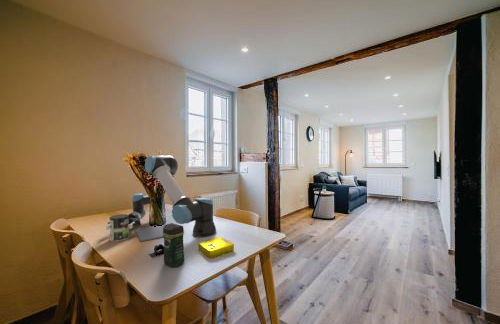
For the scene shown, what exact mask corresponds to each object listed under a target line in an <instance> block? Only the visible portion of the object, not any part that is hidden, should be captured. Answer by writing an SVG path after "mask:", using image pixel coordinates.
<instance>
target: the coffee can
mask: <svg viewBox="0 0 500 324" xmlns="http://www.w3.org/2000/svg"><path fill="white" fill-rule="evenodd" d="M109 222H110V229H109V233H110V234H109V235H110V237H109V238H110V239H109V240H110V242H113V243H114V242H115V243H116V242H123V241H125V240H128V239H129V238H130V229H129V225H130V224H129V214H125V213H124V214H115V215H112V216H110V217H109Z"/></svg>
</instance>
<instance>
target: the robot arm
mask: <svg viewBox="0 0 500 324" xmlns="http://www.w3.org/2000/svg"><path fill="white" fill-rule="evenodd" d="M144 169H145V172H146V173H147V174H152V176H153V177H154V178H155V179H158V180H159V181H160V183H161V185H162V186H163V188H164V191H165V192H166V195H167V196H168V197H169V199H170V201H171V202H172V203H171V204H173V205H172V208H171V214H172V215H171V216H172V219H173V220H174V221H175V222H176V223H177V224H178V225H184V224H189V223H191V222H194V225H193V229H192V235H193V236H195V237H197V238H205V237H209V236H213V235H215V234H217V228H216V225H215V222H214V203H213V202H214V201H213V199H212V198H209V197H195V198H194V201H192V199H191V198H190V197H188V196H186V195H185V194H184V192H183V190H182V188H181V187H180V185H179V184H178V182H177V181H176V179H175V178H174V176H175V175H176V173H177V172H178V169H179V164H178V160H177V159H176V158H175V157H173V156H172V155H166V154H165V155H155V154H153V155H149V156H147V157H146V159H145V163H144ZM158 180H157V181H158ZM148 195H149V194H145V195H144V193H134V194H132V199H131V201H132V212H131V213H129V214H128V215H129V230H131V229H132V228H134V227H136V226H140V225H141V220H142V219H143V218H144V217H145V216H146V214H147V211H146V210H145V206H148V205H151V204H150V197H149V196H148ZM105 230H106V231H108V230H110V221H109V222H107V225H105Z"/></svg>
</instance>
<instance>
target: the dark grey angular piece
mask: <svg viewBox="0 0 500 324" xmlns="http://www.w3.org/2000/svg"><path fill="white" fill-rule="evenodd" d="M147 255H148V256H150V258H155V257H159V256H162V255H164V244H162V243H160V244H156V245H154V247H153V252H152V253H148V254H147Z"/></svg>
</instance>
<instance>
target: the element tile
mask: <svg viewBox="0 0 500 324" xmlns="http://www.w3.org/2000/svg"><path fill="white" fill-rule="evenodd" d="M197 246H198V247H197V248H198V249H197V250H198V252H199V253H201V254H202V255H203V256H204V257H206V258H207V259H209V260H210V259H211V260H212V259H213V260H214V259H215V258H219V257H222V256H225V255H228V254H231V253H234V252H235V248H234V247H235V245H234V242H232V241H230V240H228V239H227V238H225V237H223V236H218V237H213V238H209V239H207V240H203V241H199V242H197Z"/></svg>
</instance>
